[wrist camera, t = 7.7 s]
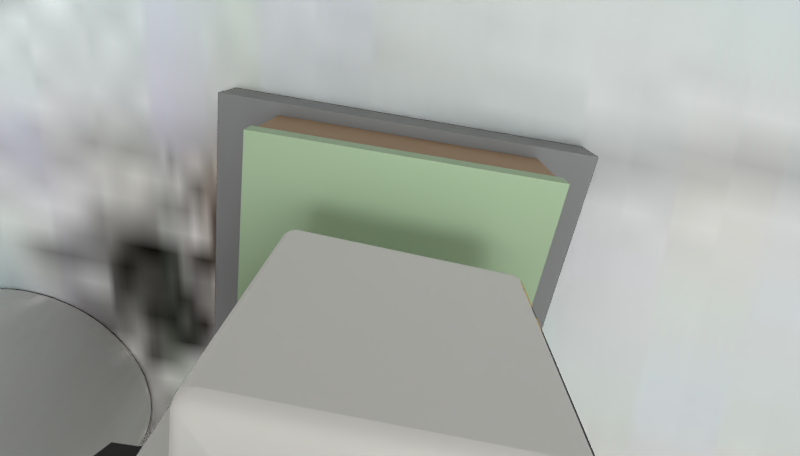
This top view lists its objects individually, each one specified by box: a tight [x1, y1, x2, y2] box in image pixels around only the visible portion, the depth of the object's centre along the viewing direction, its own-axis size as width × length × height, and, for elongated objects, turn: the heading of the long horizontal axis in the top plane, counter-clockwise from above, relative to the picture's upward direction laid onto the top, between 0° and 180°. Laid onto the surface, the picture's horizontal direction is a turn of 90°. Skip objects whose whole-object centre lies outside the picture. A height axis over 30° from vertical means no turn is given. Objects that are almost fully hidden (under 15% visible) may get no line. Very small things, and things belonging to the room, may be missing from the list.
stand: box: [214, 88, 598, 336], centre depth 21 cm, size 16×12×6 cm
